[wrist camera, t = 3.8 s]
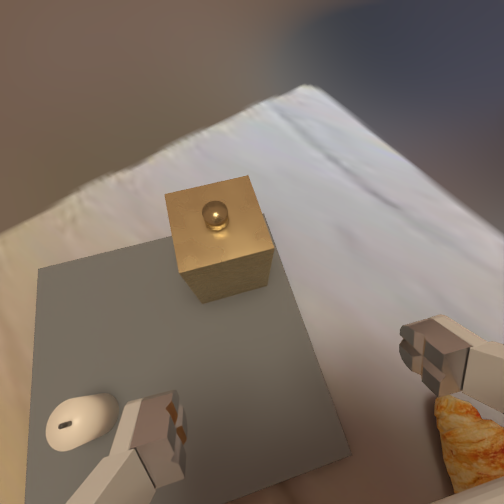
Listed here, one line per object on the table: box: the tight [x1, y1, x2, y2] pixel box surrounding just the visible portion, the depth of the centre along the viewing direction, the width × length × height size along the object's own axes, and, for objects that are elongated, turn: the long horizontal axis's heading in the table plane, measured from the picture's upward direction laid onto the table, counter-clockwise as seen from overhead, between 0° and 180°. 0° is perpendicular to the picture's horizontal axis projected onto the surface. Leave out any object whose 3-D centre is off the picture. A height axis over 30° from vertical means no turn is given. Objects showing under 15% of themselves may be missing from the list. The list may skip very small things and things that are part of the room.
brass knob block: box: [165, 176, 274, 304], centre depth 20 cm, size 6×6×9 cm
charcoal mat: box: [25, 213, 352, 504], centre depth 21 cm, size 21×22×1 cm
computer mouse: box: [46, 393, 119, 451], centre depth 17 cm, size 3×3×4 cm
